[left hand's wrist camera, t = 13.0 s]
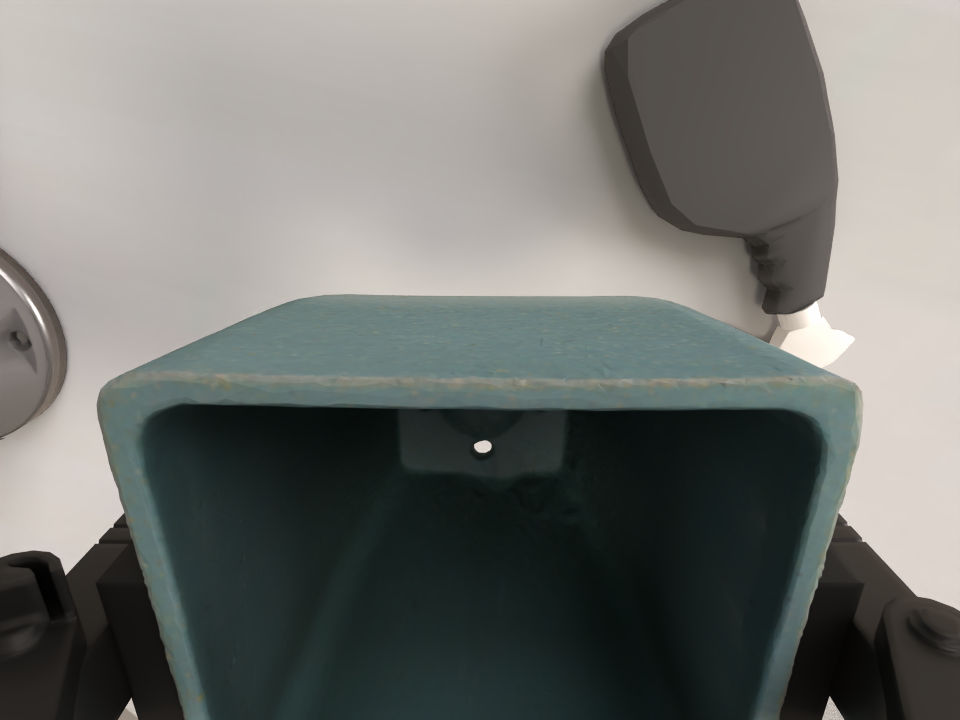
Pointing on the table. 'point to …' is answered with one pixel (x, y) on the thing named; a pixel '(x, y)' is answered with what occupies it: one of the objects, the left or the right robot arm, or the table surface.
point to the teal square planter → (481, 509)
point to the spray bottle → (738, 144)
